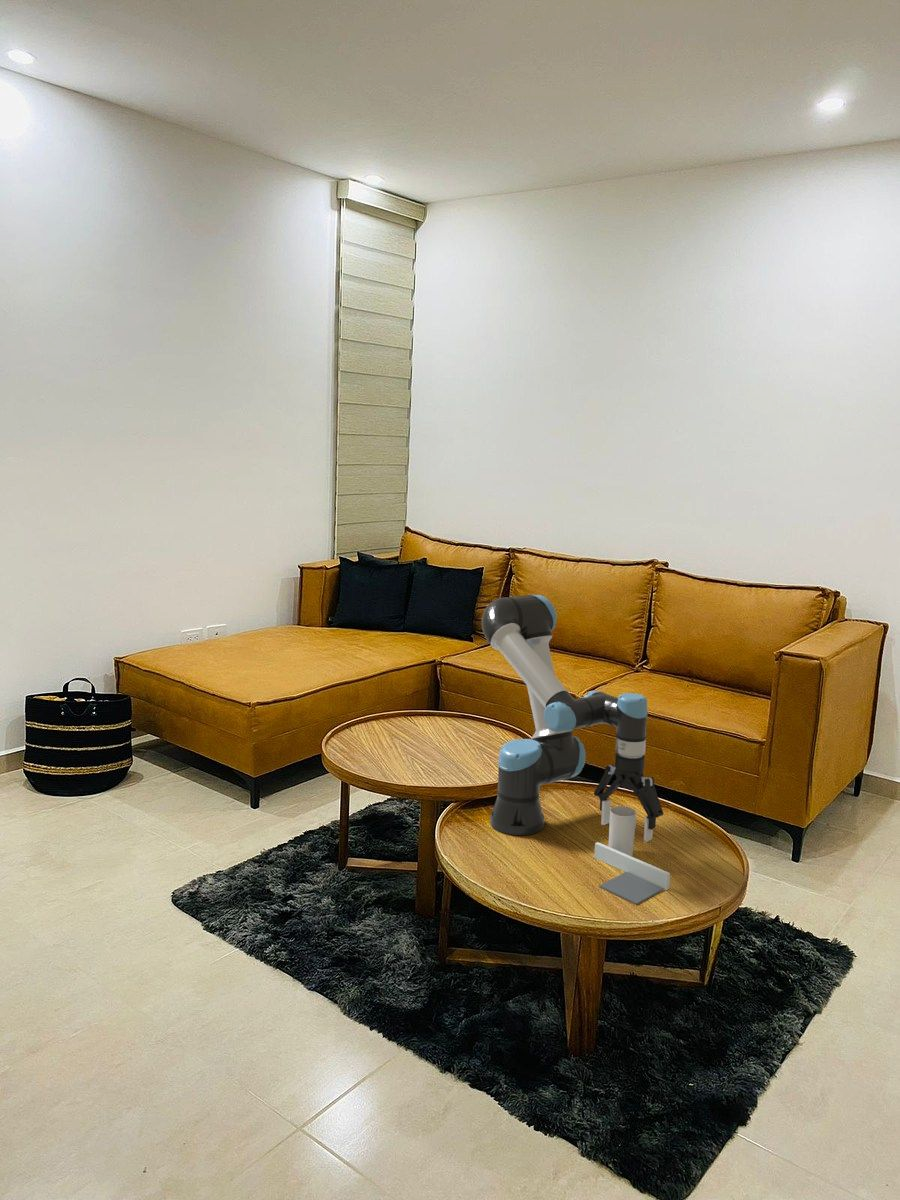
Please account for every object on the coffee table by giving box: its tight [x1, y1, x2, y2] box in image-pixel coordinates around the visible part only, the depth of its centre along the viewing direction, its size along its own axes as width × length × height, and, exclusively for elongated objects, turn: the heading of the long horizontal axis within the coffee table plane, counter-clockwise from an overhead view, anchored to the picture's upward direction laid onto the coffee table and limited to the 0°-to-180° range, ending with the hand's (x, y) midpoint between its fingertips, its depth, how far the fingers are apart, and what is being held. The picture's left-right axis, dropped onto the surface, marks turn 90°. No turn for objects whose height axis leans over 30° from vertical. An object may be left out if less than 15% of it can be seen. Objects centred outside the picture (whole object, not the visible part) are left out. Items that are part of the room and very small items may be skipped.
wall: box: [593, 841, 671, 891], centre depth 224 cm, size 22×1×4 cm, turn 43°
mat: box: [598, 871, 665, 906], centre depth 216 cm, size 11×11×1 cm
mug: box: [608, 805, 637, 857], centre depth 234 cm, size 10×7×12 cm, turn 137°
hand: (626, 831), depth 234 cm, fingers open, 13 cm apart
